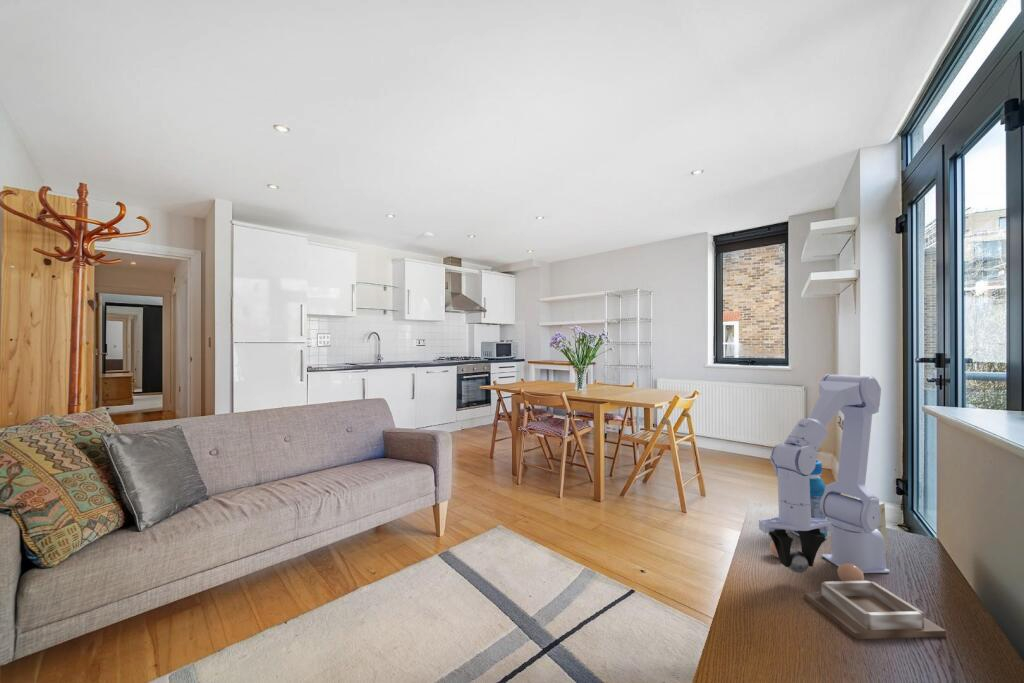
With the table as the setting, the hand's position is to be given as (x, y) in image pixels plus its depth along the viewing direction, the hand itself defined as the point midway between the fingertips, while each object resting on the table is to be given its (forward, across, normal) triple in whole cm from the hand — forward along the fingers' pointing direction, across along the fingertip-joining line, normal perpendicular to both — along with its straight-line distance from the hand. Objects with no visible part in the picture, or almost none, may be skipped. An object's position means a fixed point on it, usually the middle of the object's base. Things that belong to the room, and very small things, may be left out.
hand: (796, 564), depth 88 cm
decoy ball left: (+2, -11, +1) cm, 11 cm away
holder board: (+4, -6, +11) cm, 13 cm away
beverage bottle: (+4, -20, -23) cm, 31 cm away
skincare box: (+4, -28, -13) cm, 31 cm away
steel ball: (-1, 0, 0) cm, 1 cm away
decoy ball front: (+2, -4, -11) cm, 12 cm away
